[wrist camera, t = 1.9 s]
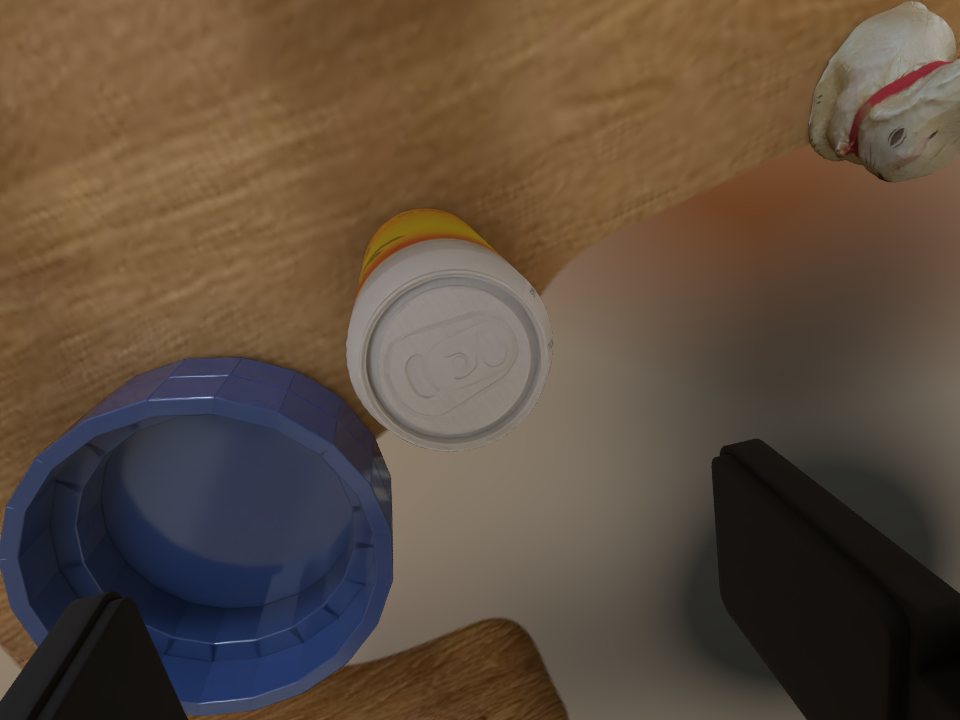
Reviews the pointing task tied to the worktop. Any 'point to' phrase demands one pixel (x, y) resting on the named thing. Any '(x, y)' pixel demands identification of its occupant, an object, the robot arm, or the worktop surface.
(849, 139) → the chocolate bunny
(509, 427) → the beer can
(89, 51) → the worktop surface
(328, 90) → the worktop surface
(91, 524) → the bowl
